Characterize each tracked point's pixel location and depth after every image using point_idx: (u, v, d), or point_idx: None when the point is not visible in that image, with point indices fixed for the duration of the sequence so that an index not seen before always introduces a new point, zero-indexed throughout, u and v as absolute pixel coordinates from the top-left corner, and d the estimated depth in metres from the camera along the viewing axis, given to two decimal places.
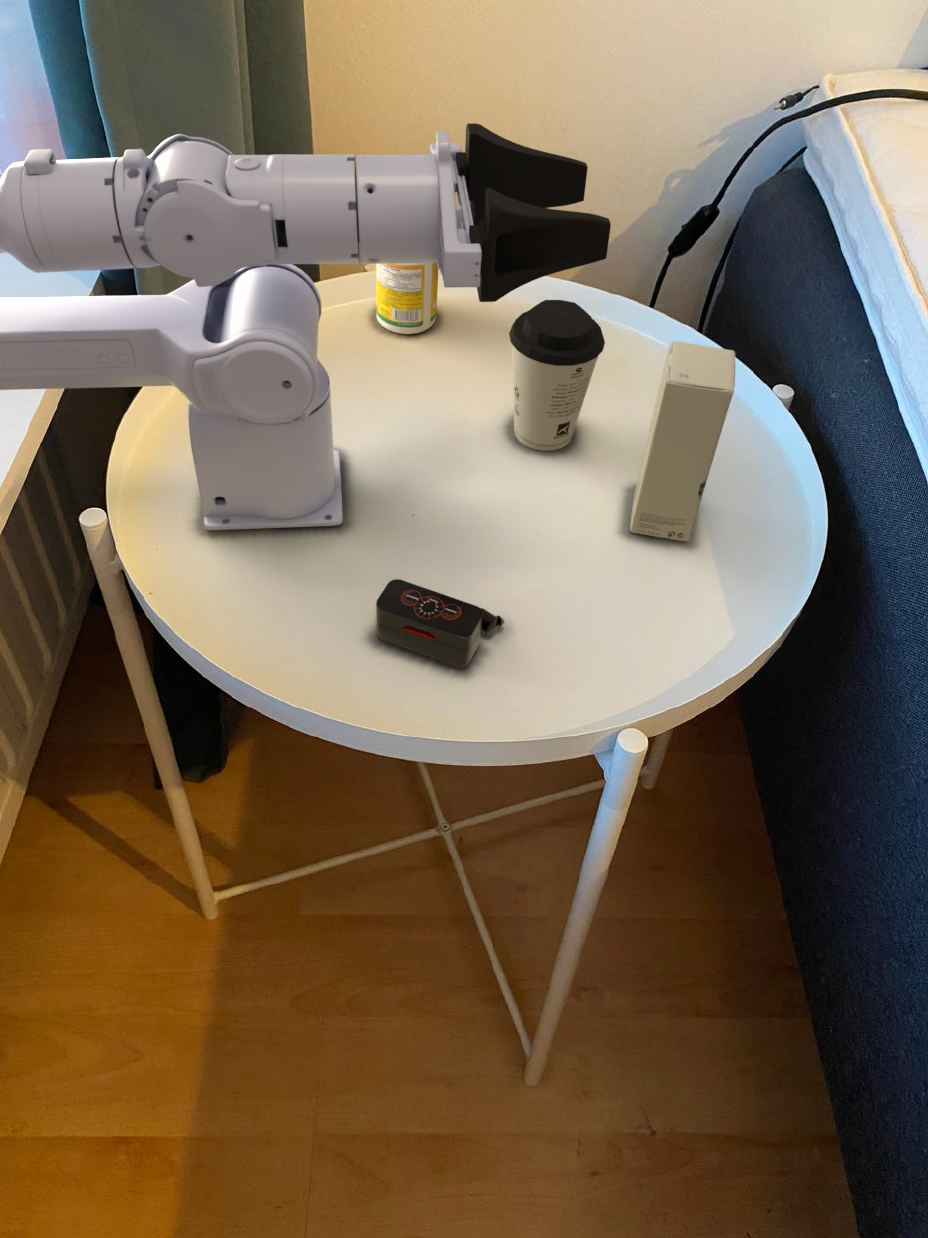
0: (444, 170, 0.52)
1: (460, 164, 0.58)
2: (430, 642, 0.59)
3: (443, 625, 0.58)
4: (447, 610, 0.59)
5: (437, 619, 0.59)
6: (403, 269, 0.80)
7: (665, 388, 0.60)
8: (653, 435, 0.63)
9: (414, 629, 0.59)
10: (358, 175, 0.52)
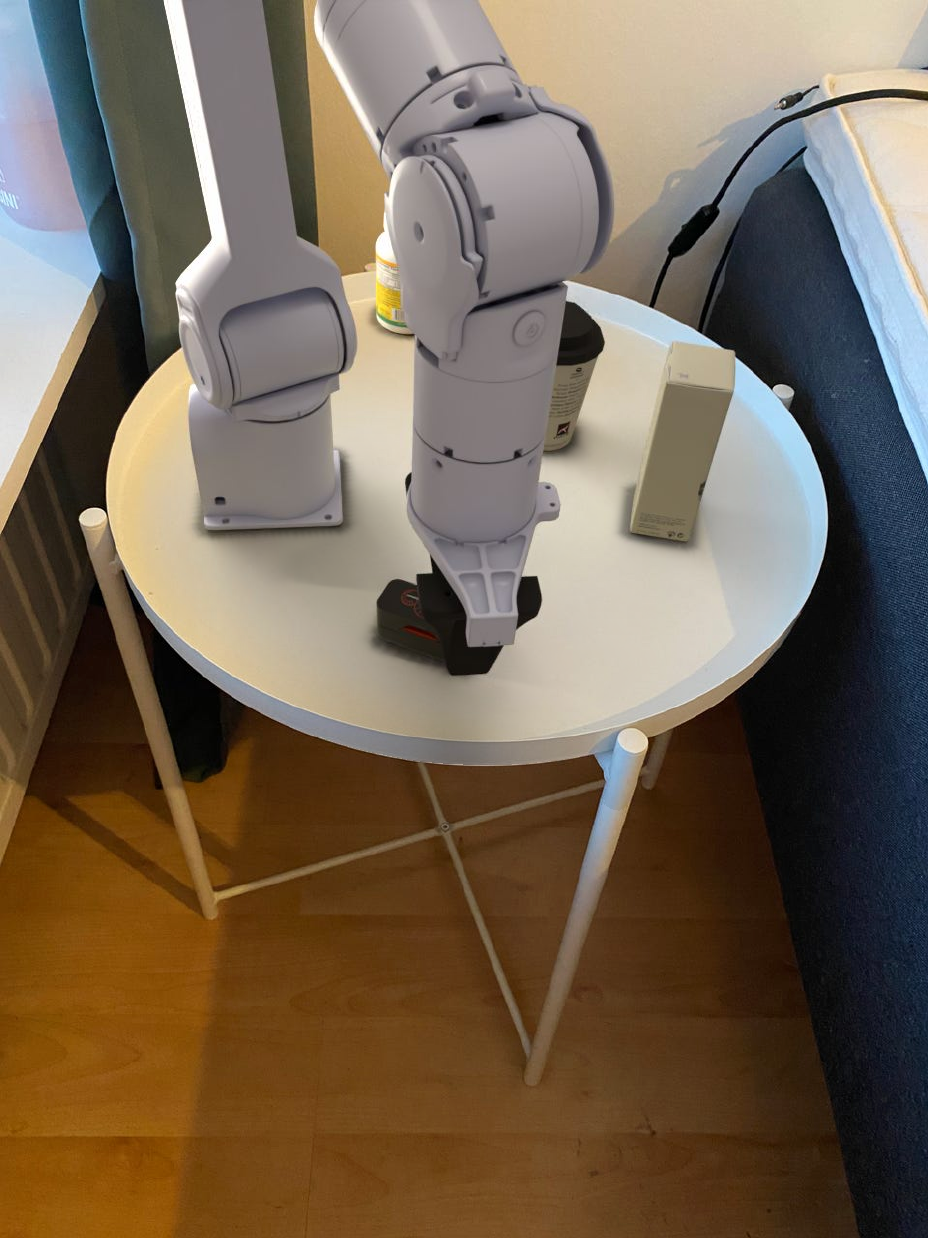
0: (536, 522, 0.44)
1: None
2: (430, 642, 0.59)
3: None
4: None
5: None
6: None
7: (665, 388, 0.60)
8: (653, 435, 0.63)
9: (414, 629, 0.59)
10: (542, 442, 0.41)
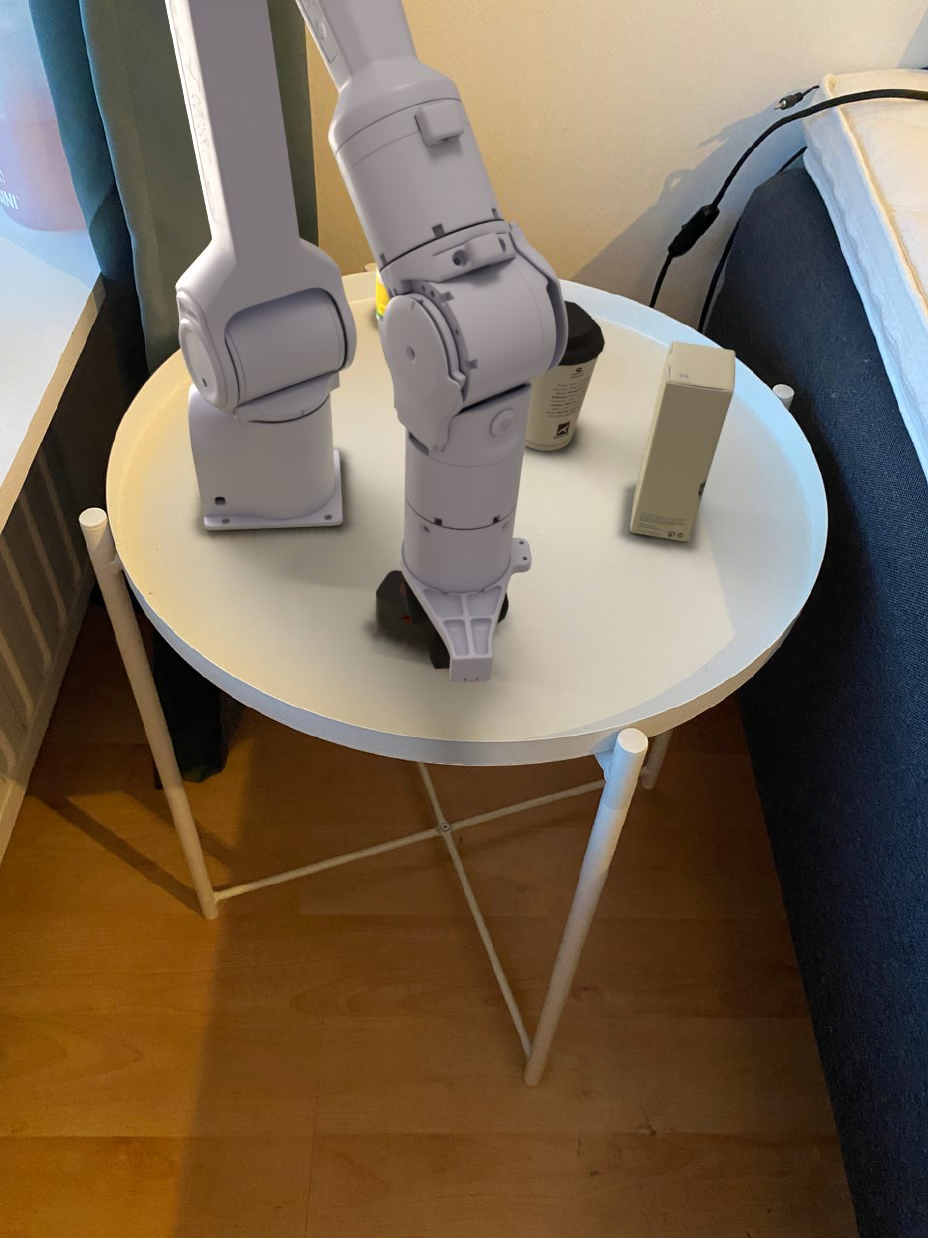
0: (510, 574, 0.52)
1: None
2: None
3: None
4: None
5: None
6: None
7: (665, 388, 0.60)
8: (653, 435, 0.63)
9: None
10: (513, 509, 0.48)
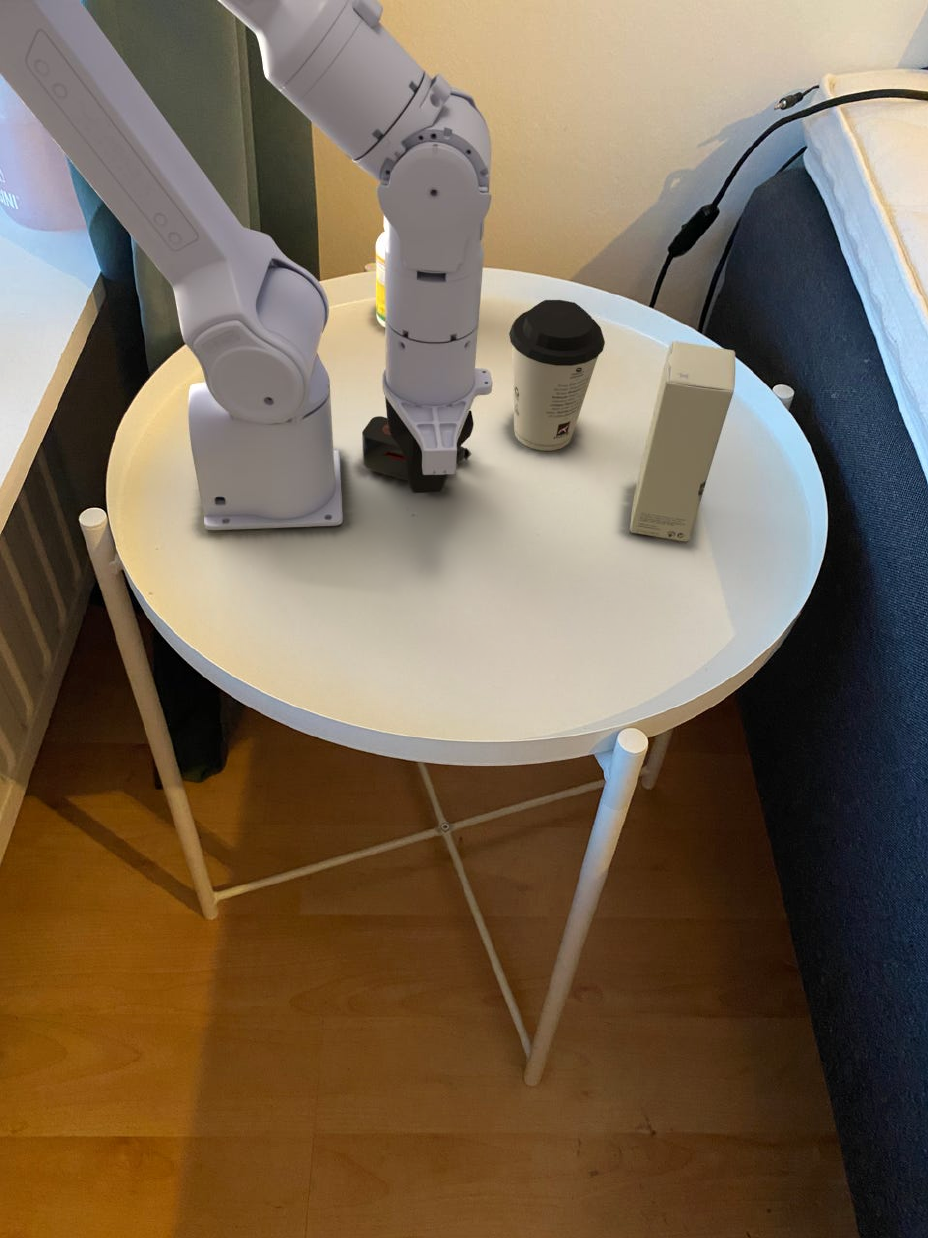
0: (474, 394, 0.62)
1: None
2: None
3: None
4: None
5: None
6: None
7: (665, 388, 0.60)
8: (653, 435, 0.63)
9: (395, 455, 0.70)
10: (474, 330, 0.59)
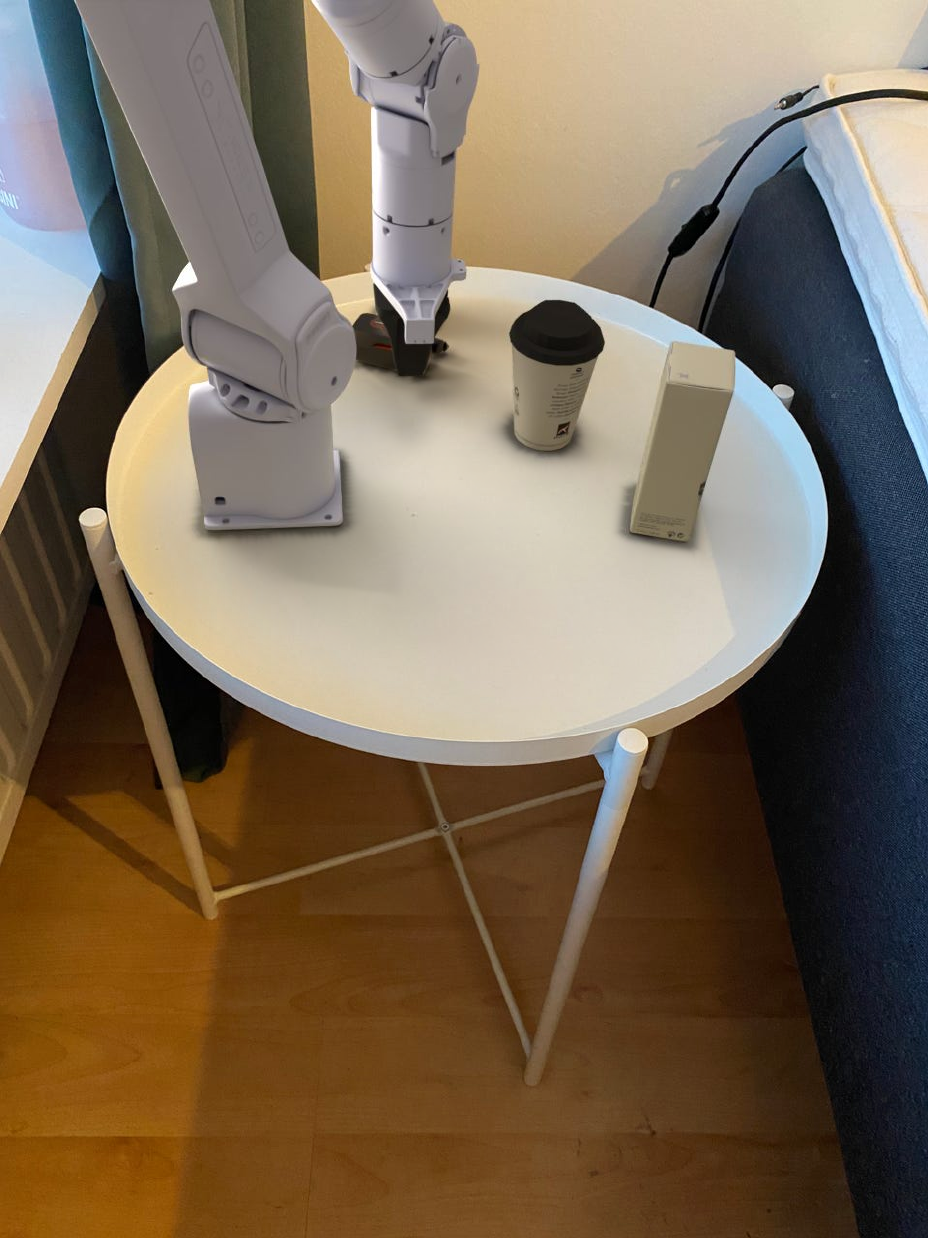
0: (450, 279, 0.71)
1: None
2: None
3: None
4: None
5: None
6: None
7: (665, 388, 0.60)
8: (653, 435, 0.63)
9: (382, 345, 0.79)
10: (450, 218, 0.68)
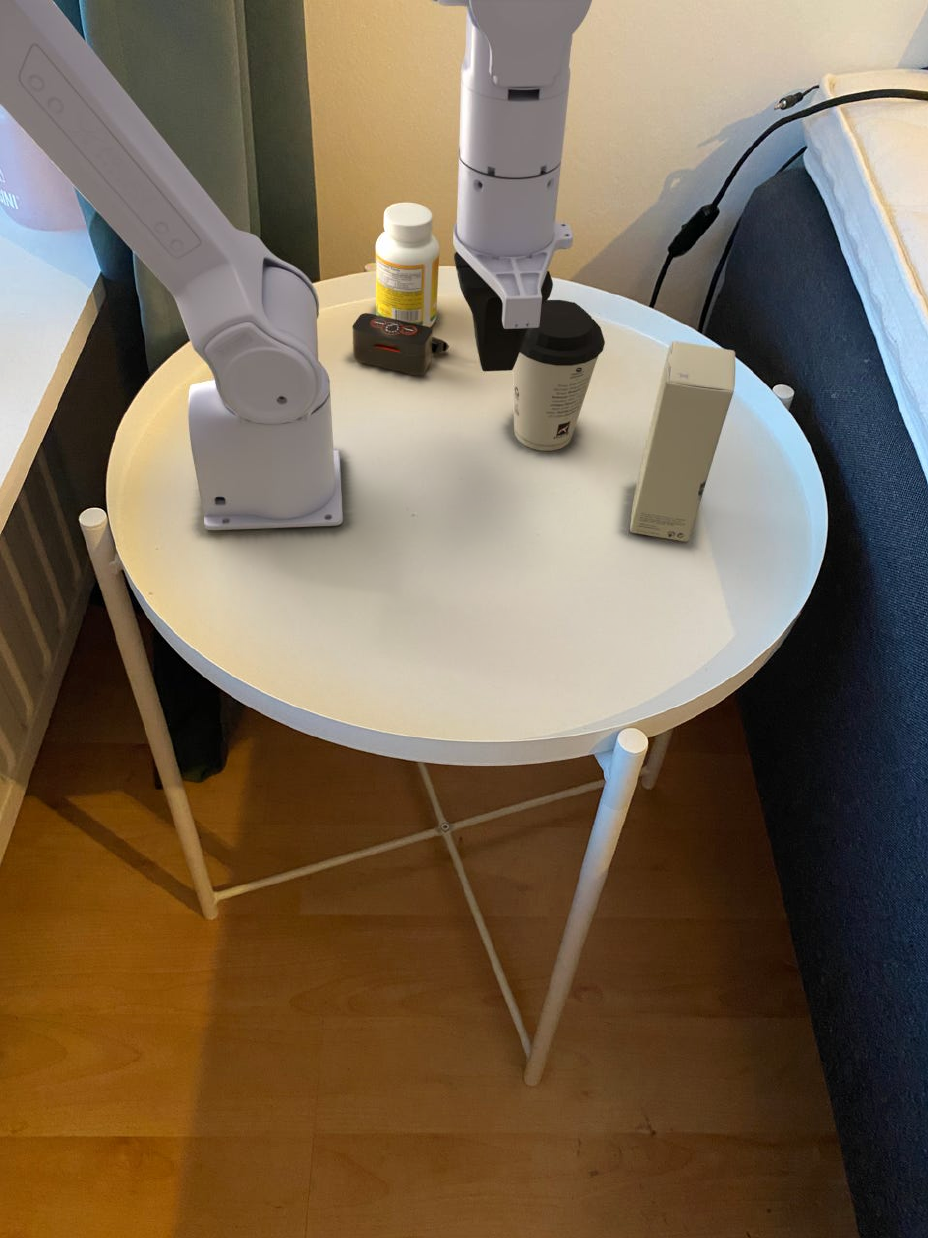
0: (554, 247, 0.57)
1: None
2: (395, 354, 0.79)
3: (404, 337, 0.78)
4: (406, 329, 0.79)
5: (399, 335, 0.79)
6: (403, 269, 0.80)
7: (665, 388, 0.60)
8: (653, 435, 0.63)
9: (382, 346, 0.79)
10: (558, 167, 0.53)
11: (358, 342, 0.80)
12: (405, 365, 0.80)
